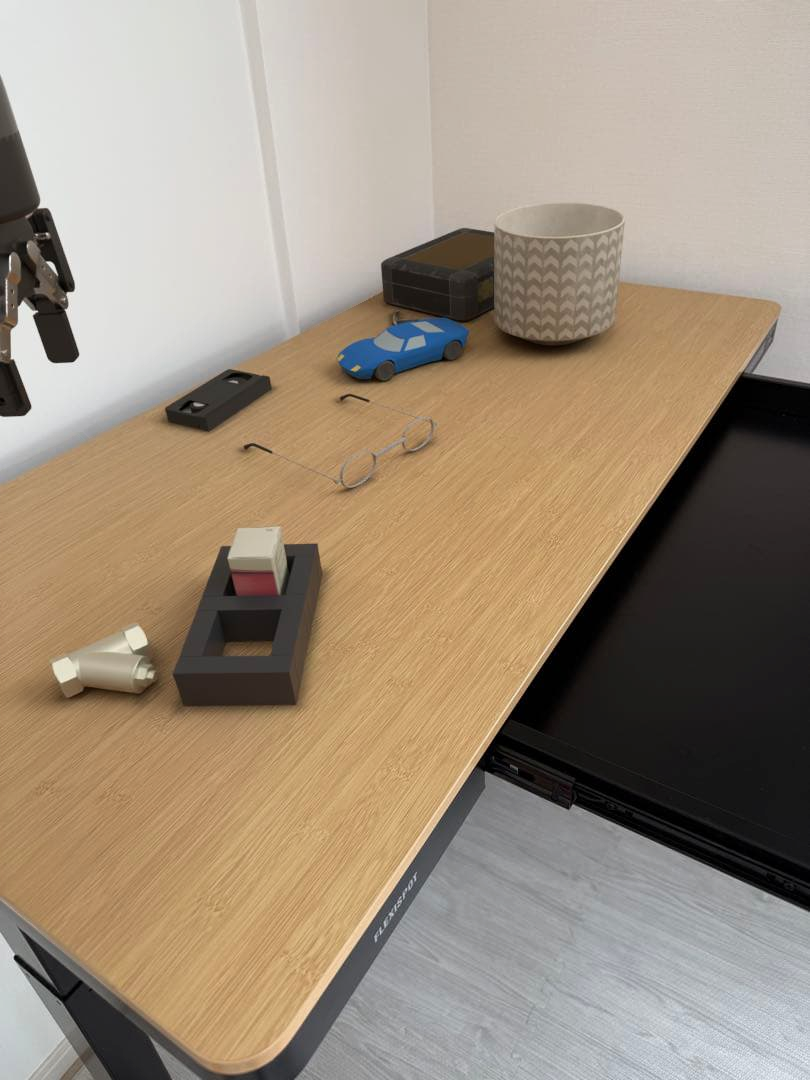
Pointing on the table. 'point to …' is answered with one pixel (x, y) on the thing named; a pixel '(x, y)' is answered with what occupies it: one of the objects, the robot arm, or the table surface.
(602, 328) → the planter
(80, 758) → the table surface
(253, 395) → the vhs tape
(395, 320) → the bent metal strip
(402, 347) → the toy car
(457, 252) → the jewelry box
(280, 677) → the socket block
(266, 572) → the small box
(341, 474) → the eyeglasses
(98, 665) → the pipe fitting
